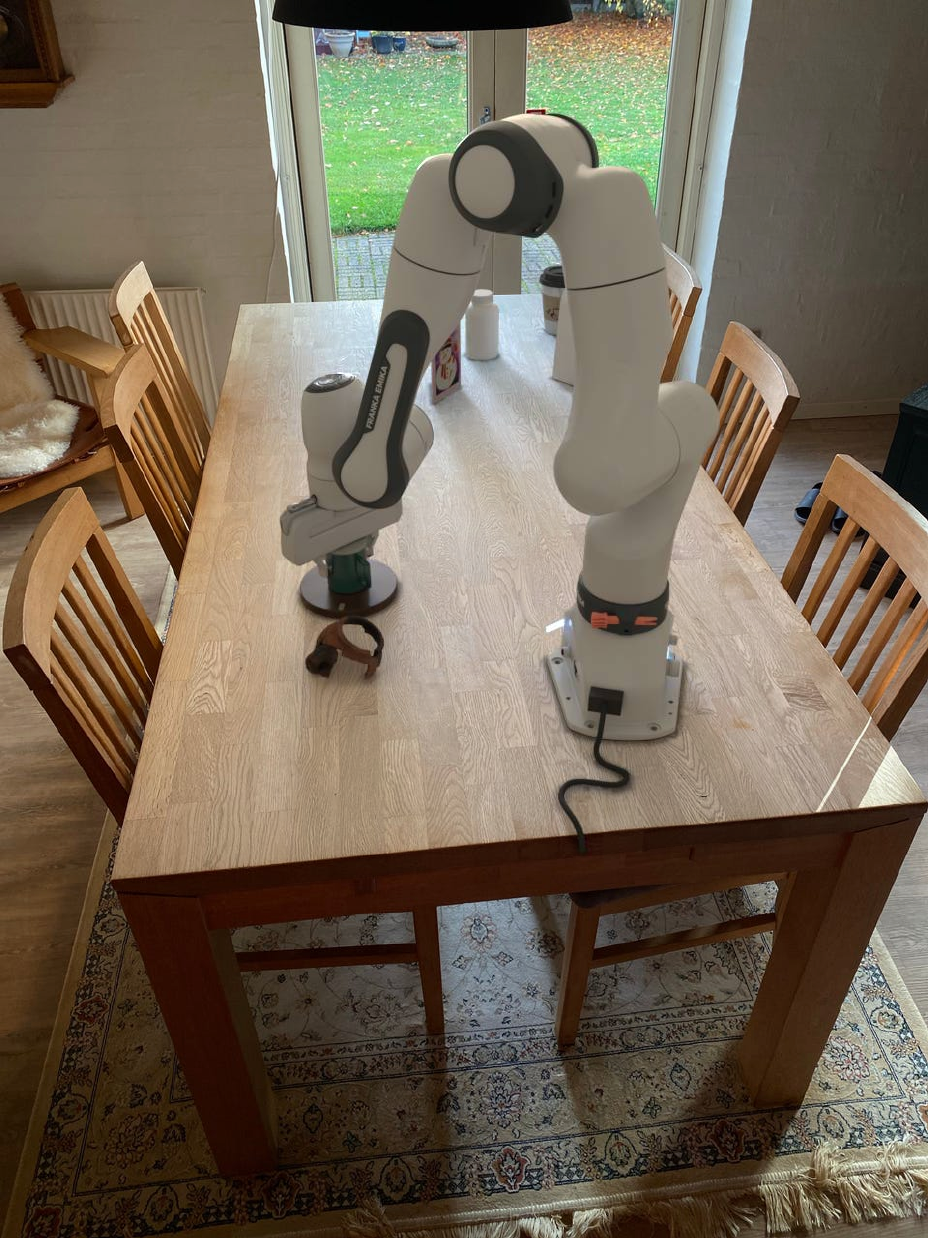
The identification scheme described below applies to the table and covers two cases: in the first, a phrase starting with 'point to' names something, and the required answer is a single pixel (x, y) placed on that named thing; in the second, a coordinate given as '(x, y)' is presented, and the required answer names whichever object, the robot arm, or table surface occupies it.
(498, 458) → the table surface
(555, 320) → the coffee cup
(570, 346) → the milk
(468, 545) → the table surface
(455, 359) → the greeting card
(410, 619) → the table surface
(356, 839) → the table surface
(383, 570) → the turntable
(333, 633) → the brown strap loop
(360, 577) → the green lidded mug
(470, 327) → the pill bottle
